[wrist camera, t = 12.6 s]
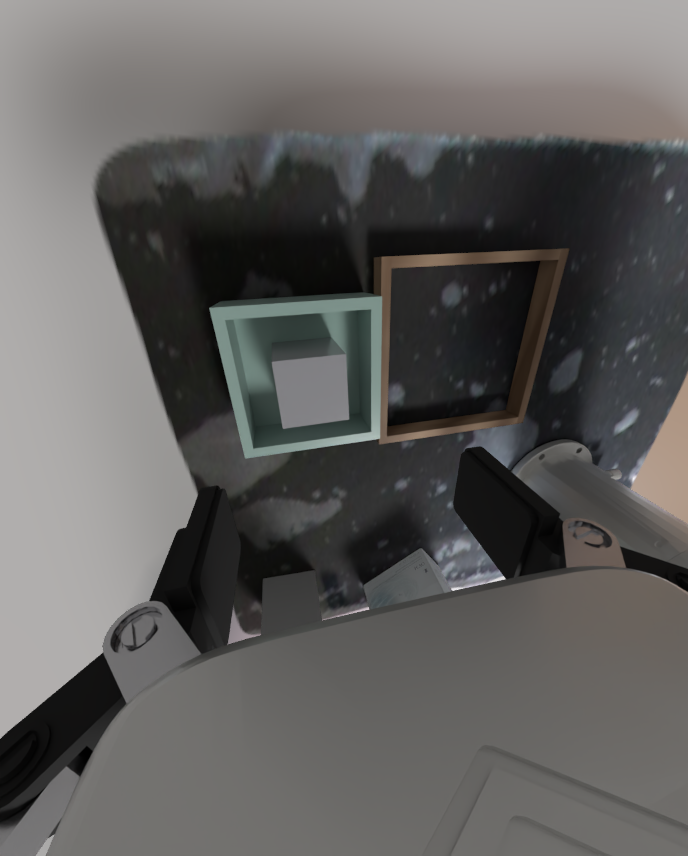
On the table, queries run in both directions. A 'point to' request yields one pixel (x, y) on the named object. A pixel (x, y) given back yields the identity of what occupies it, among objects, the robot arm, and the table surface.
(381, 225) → the table surface
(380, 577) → the skincare box
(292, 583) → the perfume bottle
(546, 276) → the brown wooden frame
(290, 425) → the stone block
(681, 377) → the table surface
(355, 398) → the sage green bin
